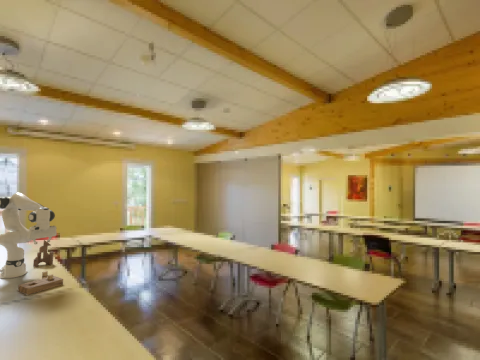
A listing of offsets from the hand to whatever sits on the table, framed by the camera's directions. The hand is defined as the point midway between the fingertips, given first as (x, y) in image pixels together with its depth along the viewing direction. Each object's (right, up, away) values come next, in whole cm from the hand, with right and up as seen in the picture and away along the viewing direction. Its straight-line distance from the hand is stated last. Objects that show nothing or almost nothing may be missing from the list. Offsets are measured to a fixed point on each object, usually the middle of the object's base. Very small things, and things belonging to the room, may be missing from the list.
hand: (42, 243), depth 210 cm
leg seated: (+13, -32, -8) cm, 35 cm away
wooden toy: (-32, -33, +42) cm, 62 cm away
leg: (+3, -32, -1) cm, 32 cm away
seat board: (+10, -32, -13) cm, 36 cm away
